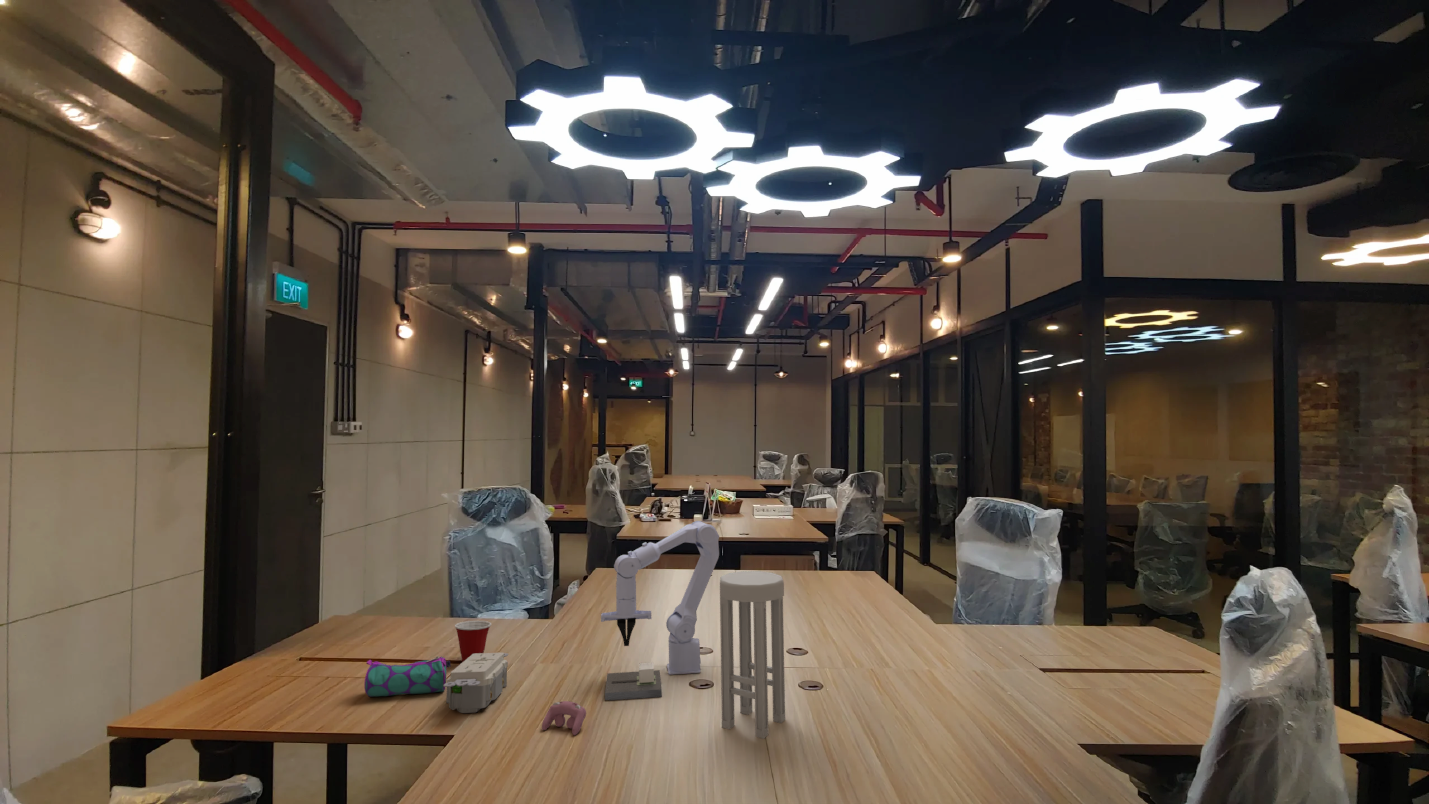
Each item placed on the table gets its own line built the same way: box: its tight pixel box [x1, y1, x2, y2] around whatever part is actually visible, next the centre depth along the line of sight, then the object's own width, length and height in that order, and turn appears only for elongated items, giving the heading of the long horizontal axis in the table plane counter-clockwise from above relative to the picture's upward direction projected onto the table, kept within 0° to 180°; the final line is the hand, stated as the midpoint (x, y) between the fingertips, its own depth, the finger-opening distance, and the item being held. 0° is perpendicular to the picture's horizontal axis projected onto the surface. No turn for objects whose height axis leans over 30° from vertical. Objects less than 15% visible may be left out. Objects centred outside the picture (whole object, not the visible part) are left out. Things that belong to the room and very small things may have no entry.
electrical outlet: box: [443, 652, 509, 714], centre depth 170 cm, size 12×28×10 cm, turn 3°
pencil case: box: [364, 656, 451, 698], centre depth 175 cm, size 21×9×10 cm, turn 103°
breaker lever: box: [638, 662, 655, 683], centre depth 176 cm, size 4×5×4 cm
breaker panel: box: [604, 669, 663, 701], centre depth 176 cm, size 15×14×2 cm
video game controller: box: [541, 700, 587, 736], centre depth 153 cm, size 10×5×7 cm, turn 72°
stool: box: [719, 570, 786, 740], centre depth 154 cm, size 16×16×35 cm
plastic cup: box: [454, 620, 492, 663], centre depth 198 cm, size 11×11×12 cm
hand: (626, 644), depth 184 cm, fingers closed
